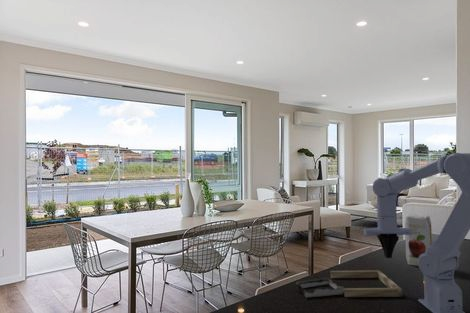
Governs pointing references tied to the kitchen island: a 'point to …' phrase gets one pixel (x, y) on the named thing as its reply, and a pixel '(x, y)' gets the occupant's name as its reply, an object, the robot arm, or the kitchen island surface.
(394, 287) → the oak box frame
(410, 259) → the juice carton
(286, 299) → the kitchen island surface
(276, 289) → the kitchen island surface
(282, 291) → the kitchen island surface
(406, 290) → the kitchen island surface
